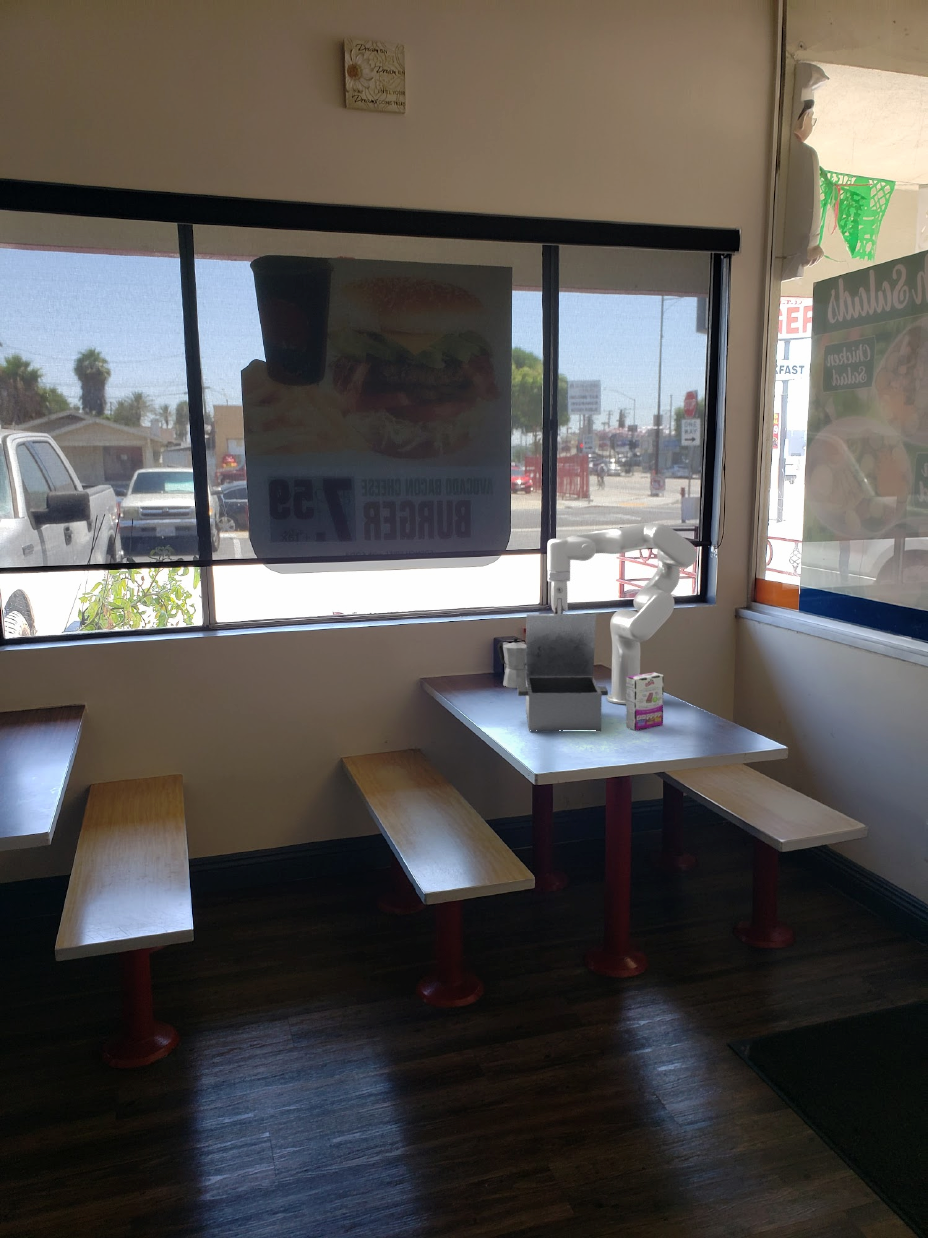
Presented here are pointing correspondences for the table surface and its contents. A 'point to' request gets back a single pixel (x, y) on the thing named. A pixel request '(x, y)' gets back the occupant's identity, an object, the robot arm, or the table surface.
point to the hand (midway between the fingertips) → (558, 631)
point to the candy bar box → (644, 701)
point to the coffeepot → (513, 663)
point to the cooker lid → (560, 645)
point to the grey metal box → (563, 703)
